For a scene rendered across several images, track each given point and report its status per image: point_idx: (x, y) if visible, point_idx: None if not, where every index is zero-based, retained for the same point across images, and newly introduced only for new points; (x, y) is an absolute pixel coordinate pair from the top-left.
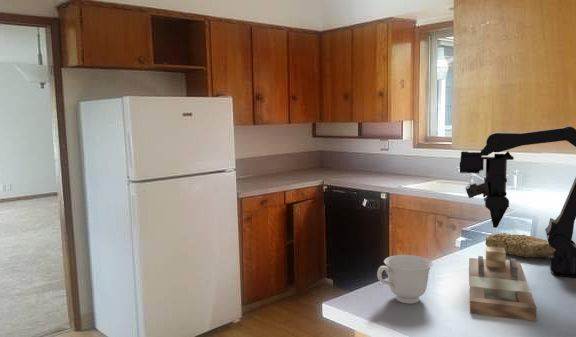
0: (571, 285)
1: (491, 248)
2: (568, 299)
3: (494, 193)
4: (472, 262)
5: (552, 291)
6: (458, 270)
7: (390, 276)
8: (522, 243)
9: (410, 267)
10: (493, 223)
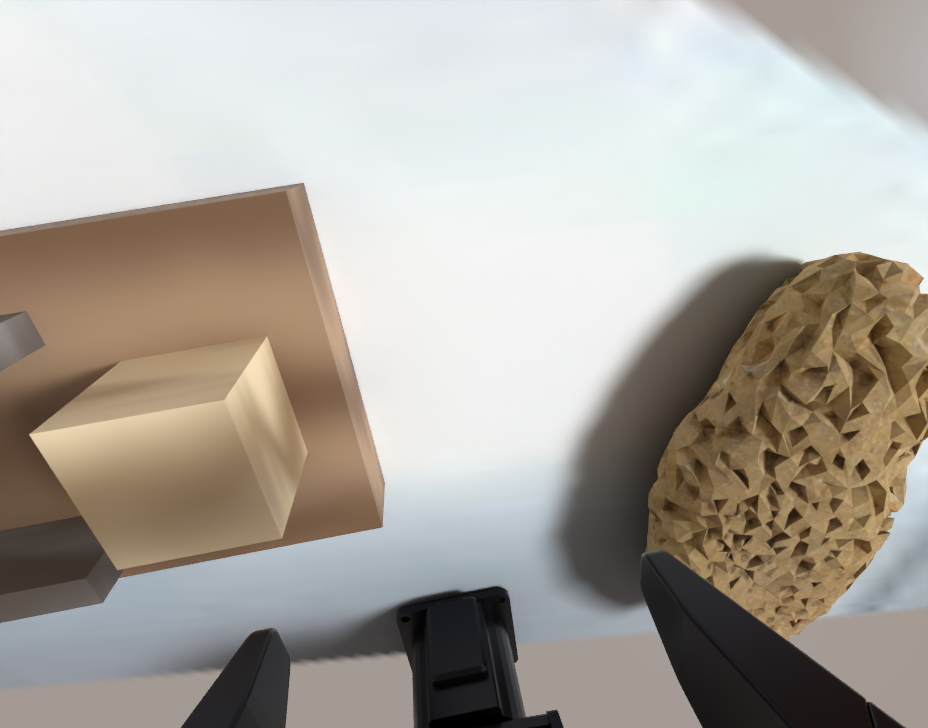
0: (297, 663)
1: (176, 457)
2: (87, 674)
3: None
4: (150, 242)
5: (151, 624)
6: (163, 106)
7: None
8: (715, 533)
9: None
10: (205, 712)
